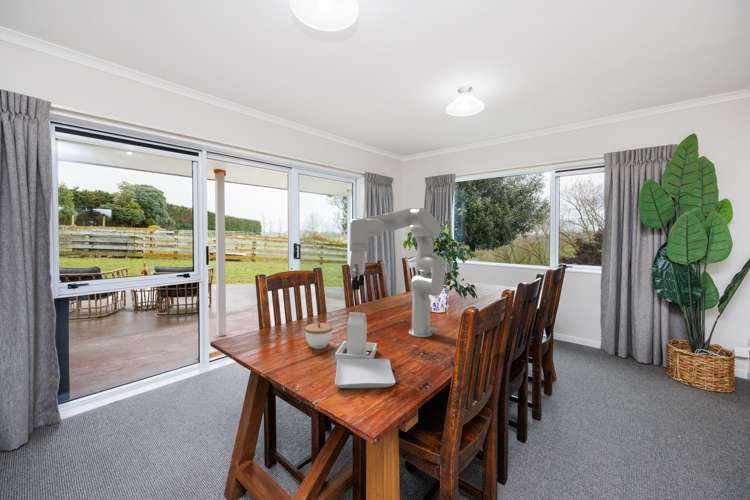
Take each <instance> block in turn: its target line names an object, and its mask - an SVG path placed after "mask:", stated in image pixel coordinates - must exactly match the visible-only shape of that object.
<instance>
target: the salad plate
mask: <svg viewBox="0 0 750 500" xmlns="http://www.w3.org/2000/svg"><path fill="white" fill-rule="evenodd" d="M391 365H392V364H391V360H390V359H389V358H373V359H341V360H338V361H337V362H336V373H335V377H334V384H335V386H336V388H337V387H338V388H340V389H375V388H376V389H379V388H380V389H381V388H390V387H392V386H394V385H395V384H396V379H395V375H394V372H393V370H392V366H391Z"/></svg>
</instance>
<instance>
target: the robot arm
mask: <svg viewBox="0 0 750 500" xmlns="http://www.w3.org/2000/svg"><path fill="white" fill-rule="evenodd" d="M407 227H409V231H410V233H411V235H412V237H414V239H415V241H416V244H417V250H416V257H415V258H416V260H415V268H416V270H417V271H418V272H421V273H427V274H431V275H427V274H416V275H414V276H413V277H412V278H411V280H410V281H411V282H410V288H411V293H412V302H411V303H412V304H411V305H412V306H411V308H412V309H411V328H410V329H409V330H408V334H409V335H410V336H413V337H415V338H418V337H419V338H430V337H432V336H433V333H439V328H438V327H435V326H431V305H432V303H431V297H430V296H435V297H436V296H440V295H441V294H442V293H443V291H444V287H445V277H446V270H447V269H446V268H447V267H446V261H445V259H444V257H442V256H441V255H438V254H437V255H436V254H434V251H435V250H434V247H435V246H434V245H435V244H434V242H433V239H432V238H438V237H439V236H440V234H441V231H442V226H441V224H440V222H439V221H438V220H437V219H436V218H435V216H433V214H431V212H429V210H427V209H426V208H424V207H413V208H411V207H409V208H405V209H400V210H396V211H392V212H387V213H382V214H377V215H371V216H367V217H363V218H352V219H351V220H350V223H349V252H351V253H350V262H349V263H350V265H349V274H350V275H351V290H355V291H359V290H360V287H361V286H365V271H366V252H368V246H369V245H368V243H369V242H368V237H370V236H371V237H378V236H381V235H383V233H385V232H389V231H391V232H393V231H396V230H397V231H398V230H400V229H404V228H407Z"/></svg>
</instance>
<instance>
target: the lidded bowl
mask: <svg viewBox="0 0 750 500" xmlns="http://www.w3.org/2000/svg"><path fill="white" fill-rule="evenodd" d="M304 329H305V330H304V331H305V333H304V334H305V340H306V343H307V344H308V345H309V346H310V348H312V349H316V350H320V349H324V348H326V347H327V345H329V343H330V342H331V339H332V336H333V325H331V324H329V323H326V322H314V323H310V324H308V325H306V326H305V328H304Z"/></svg>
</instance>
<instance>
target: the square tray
mask: <svg viewBox="0 0 750 500" xmlns="http://www.w3.org/2000/svg"><path fill="white" fill-rule="evenodd" d="M377 344H378V343H376V342H367V343H366V352H368V351H369V352H371V353H370V355H367V356H366V355H354V354H347V353H344V352H345V350H347V340H344V341H343V342H342V343H341V345H340V346H339V347H338V348H337V351H335V353H334V362H335V363H337V361H338V360H341V359H375V355H376V353H377V350H378V349H377V348H378V345H377Z"/></svg>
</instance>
